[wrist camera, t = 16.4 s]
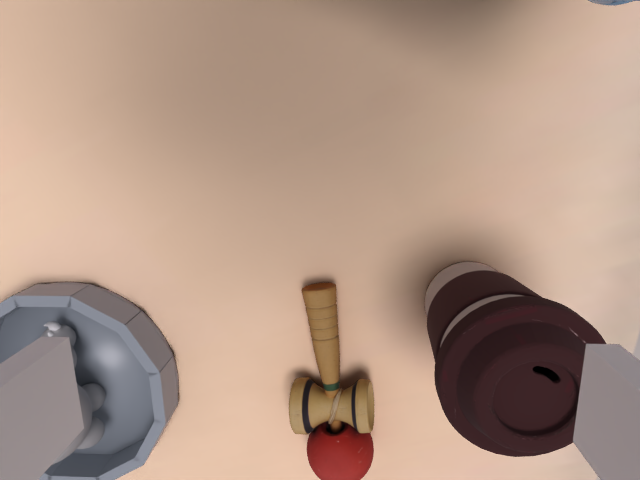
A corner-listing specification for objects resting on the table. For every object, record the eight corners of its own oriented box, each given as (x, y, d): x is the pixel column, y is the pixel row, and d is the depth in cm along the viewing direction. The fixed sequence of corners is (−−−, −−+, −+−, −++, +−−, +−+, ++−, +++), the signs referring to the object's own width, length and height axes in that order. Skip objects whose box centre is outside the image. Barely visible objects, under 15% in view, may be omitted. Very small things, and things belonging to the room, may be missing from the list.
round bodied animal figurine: (121, 319, 43) (68, 322, 35) (112, 448, 41) (54, 485, 33) (50, 319, 43) (-19, 322, 35) (38, 446, 42) (-38, 482, 33)
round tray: (-30, 281, 41) (-66, 295, 37) (168, 282, 40) (151, 296, 36) (7, 455, 45) (-21, 482, 42) (187, 460, 44) (173, 489, 41)
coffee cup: (438, 368, 40) (490, 502, 26) (388, 277, 38) (413, 365, 24) (542, 321, 38) (660, 437, 24) (495, 224, 37) (592, 284, 22)
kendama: (271, 285, 41) (298, 468, 42) (270, 300, 34) (302, 513, 36) (353, 273, 41) (377, 453, 43) (367, 285, 35) (394, 495, 37)
